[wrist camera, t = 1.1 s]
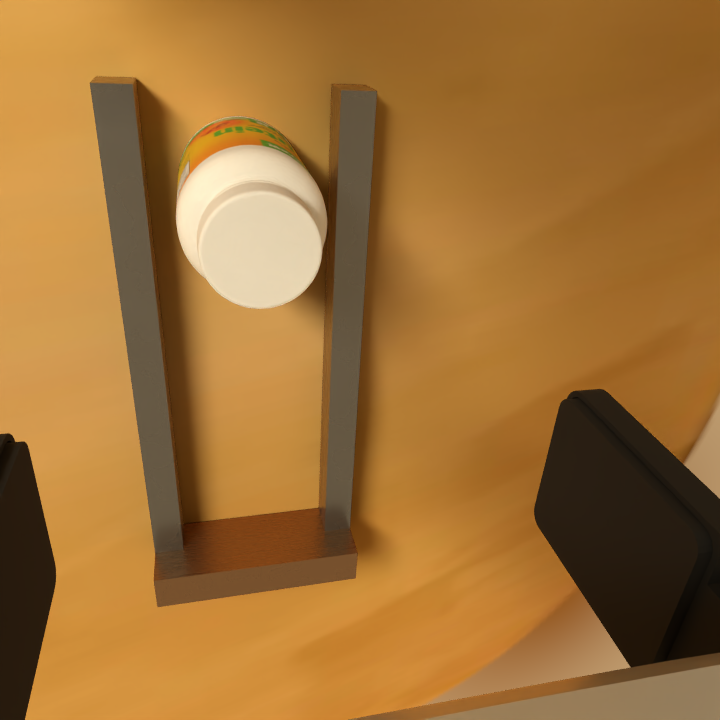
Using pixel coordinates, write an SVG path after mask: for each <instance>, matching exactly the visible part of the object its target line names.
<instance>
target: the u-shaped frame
mask: <svg viewBox="0 0 720 720" xmlns="http://www.w3.org/2000/svg"><path fill="white" fill-rule="evenodd" d="M90 87H91V94H92V102H93V109H94V116H95V123H96V130H97V138H98V145H99V152H100V159H101V166H102V173H103V181H104V188H105V195H106V202H107V209H108V217H109V224H110V231H111V238H112V245H113V252H114V260H115V267H116V274H117V281H118V288H119V295H120V303H121V310H122V317H123V324H124V331H125V339H126V346H127V353H128V360H129V367H130V374H131V382H132V389H133V396H134V403H135V410H136V417H137V425H138V432H139V439H140V446H141V453H142V461H143V468H144V475H145V482H146V489H147V496H148V504H149V511H150V518H151V525H152V532H153V540H154V547H155V569H154V586H155V592H156V599H157V606H158V607H162V606H169V605H176V604H182V603H189V602H196V601H203V600H210V599H217V598H223V597H230V596H237V595H244V594H251V593H258V592H265V591H271V590H278V589H285V588H292V587H299V586H306V585H313V584H319V583H326V582H333V581H340V580H347V579H354V578H356V566H357V550H356V547H355V544H354V540H353V537H352V534H351V530H350V517H351V501H352V485H353V469H354V453H355V437H356V421H357V405H358V389H359V372H360V356H361V340H362V324H363V308H364V292H365V276H366V260H367V244H368V228H369V212H370V196H371V180H372V163H373V147H374V131H375V115H376V99H377V91H376V90H374V89H372V88H370V87H368V86H366V85H350V84H332V87H331V120H330V154H329V187H328V220H327V253H326V287H325V320H324V353H323V386H322V420H321V453H320V486H319V508H315V509H307V510H299V511H290V512H282V513H273V514H265V515H257V516H248V517H240V518H231V519H223V520H215V521H206V522H198V523H189V524H183V514H182V505H181V495H180V486H179V477H178V467H177V458H176V449H175V439H174V430H173V420H172V411H171V402H170V392H169V383H168V374H167V364H166V355H165V345H164V336H163V327H162V317H161V308H160V298H159V289H158V280H157V270H156V261H155V252H154V242H153V233H152V223H151V214H150V205H149V195H148V186H147V177H146V167H145V158H144V148H143V139H142V130H141V120H140V111H139V102H138V92H137V83H136V78H127V77H95V78H94V79H93V80H92V81H91V82H90Z"/></svg>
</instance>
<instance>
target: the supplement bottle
mask: <svg viewBox="0 0 720 720" xmlns="http://www.w3.org/2000/svg"><path fill="white" fill-rule="evenodd" d="M176 225H177V232H178V237H179V240H180V243H181V246H182V249H183V251H184V253H185V255H186V257H187V258H188V260H189V262H190V263H191V265H192V266H193V267H194V268H195V269H196V270H197V272H198V273H199V274H201V275H202V276H203V277H204V278H205V279H207V281H208V282H209V284H210V285H211V286H212V287H213V288H214V290H215V291H216V292H217V293H219V294H220V295H221V296H222V297H224V298H225V299H227V300H229V301H230V302H232V303H235V304H237V305H240V306H243V307H247V308H254V309H267V308H273V307H277V306H281V305H283V304H286V303H288V302H290V301H292V300H294V299H295V298H297V297H298V296H299V295H301V294H302V293H303V292H304V291H305V290H306V289H307V288H308V287H309V285H310V284H311V283H312V281H313V280H314V278H315V277H316V274H317V272H318V270H319V267H320V264H321V259H322V248H323V246H324V242H325V239H326V233H327V213H326V208H325V203H324V200H323V197H322V194H321V192H320V189H319V187H318V185H317V183H316V182H315V180H314V179H313V177H312V176H311V174H310V173H309V171H308V170H307V169H306V167H305V165H304V164H303V162H302V161H301V160H300V158H299V156H298V155H297V153H296V152H295V150H294V148H293V147H292V146H291V144H290V143H289V142H288V140H287V139H286V138H285V137H284V136H283V135H282V134H281V133H280V132H279V131H277V130H276V129H275V128H273V127H272V126H270V125H269V124H267V123H265V122H263V121H260V120H257V119H254V118H250V117H244V116H232V117H225V118H221V119H218V120H215V121H213V122H211V123H209V124H207V125H206V126H204V127H203V128H201V129H200V130H199V131H198V132H197V133H196V134H195V135H194V136H193V137H192V138H191V140H190V141H189V142H188V144H187V146H186V148H185V150H184V152H183V155H182V158H181V161H180V165H179V171H178V189H177V206H176Z"/></svg>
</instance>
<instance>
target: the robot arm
mask: <svg viewBox="0 0 720 720" xmlns="http://www.w3.org/2000/svg"><path fill="white" fill-rule="evenodd" d="M534 515H535V520H536V523H537V525H538V527H539V529H540V530H541V532H542V533H543V535H544V536H545V538H546V539H547V541H548V542H549V544H550V545H551V547H552V548H553V550H554V551H555V553H556V554H557V556H558V557H559V559H560V560H561V562H562V563H563V565H564V567H565V568H566V570H567V571H568V573H569V574H570V576H571V577H572V579H573V580H574V582H575V583H576V585H577V586H578V588H579V589H580V591H581V592H582V594H583V595H584V597H585V598H586V600H587V602H588V603H589V605H590V606H591V607H592V609H593V611H594V612H595V614H596V615H597V617H598V618H599V620H600V621H601V623H602V624H603V626H604V627H605V629H606V630H607V632H608V633H609V635H610V637H611V638H612V639H613V641H614V642H615V644H616V646H617V647H618V649H619V650H620V652H621V653H622V655H623V656H624V658H625V659H626V661H627V662H628V664H629V665H630V667H631V668H626V669H620V670H615V671H610V672H605V673H599V674H593V675H587V676H582V677H576V678H571V679H565V680H560V681H554V682H548V683H543V684H538V685H533V686H527V687H522V688H516V689H511V690H505V691H500V692H494V693H489V694H483V695H479V696H473V697H467V698H462V699H457V700H451V701H446V702H440V703H435V704H430V705H425V706H419V707H414V708H409V709H403V710H398V711H393V712H387V713H382V714H377V715H371V716H366V717H361V718H355V719H350V720H720V499H719V498H718V497H717V496H716V495H715V494H714V493H713V492H712V491H711V490H710V489H709V488H708V487H707V486H706V485H705V484H703V483H702V482H701V481H700V480H699V479H698V478H697V477H696V476H695V475H694V474H693V473H692V472H691V471H690V470H689V469H688V468H687V467H686V466H684V465H683V464H682V463H681V462H680V461H679V460H678V459H677V458H676V457H675V456H674V455H673V454H672V453H671V452H670V451H669V450H668V449H667V448H665V447H664V446H663V445H662V444H661V443H660V442H659V441H658V440H657V439H656V438H655V437H654V436H653V435H652V434H651V433H650V432H649V431H648V430H647V429H645V428H644V427H643V426H642V425H641V424H640V423H639V422H638V421H637V420H636V419H635V418H634V417H633V416H632V415H631V414H630V413H629V412H628V411H626V410H625V409H624V408H623V407H622V406H621V405H620V404H619V403H618V402H617V401H616V400H615V399H614V398H613V397H612V396H611V395H610V394H609V393H607V392H606V391H605V390H602V389H595V390H581V391H573V392H571V393H570V394H569V396H568V398H567V399H565V400H563V401H562V402H561V404H560V406H559V410H558V414H557V418H556V422H555V426H554V430H553V435H552V439H551V443H550V447H549V451H548V455H547V459H546V463H545V467H544V471H543V475H542V479H541V483H540V487H539V491H538V495H537V499H536V503H535V508H534ZM55 583H56V567H55V561H54V557H53V553H52V548H51V544H50V540H49V535H48V531H47V527H46V522H45V518H44V514H43V509H42V505H41V500H40V496H39V492H38V487H37V483H36V479H35V474H34V470H33V466H32V461H31V457H30V453H29V449H28V445H27V444H26V442H15V440H14V438H13V436H12V435H11V434H0V720H25V716H26V712H27V707H28V703H29V699H30V694H31V690H32V686H33V681H34V677H35V672H36V668H37V664H38V659H39V655H40V651H41V646H42V642H43V637H44V633H45V629H46V624H47V620H48V615H49V611H50V607H51V602H52V598H53V594H54V589H55Z"/></svg>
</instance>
